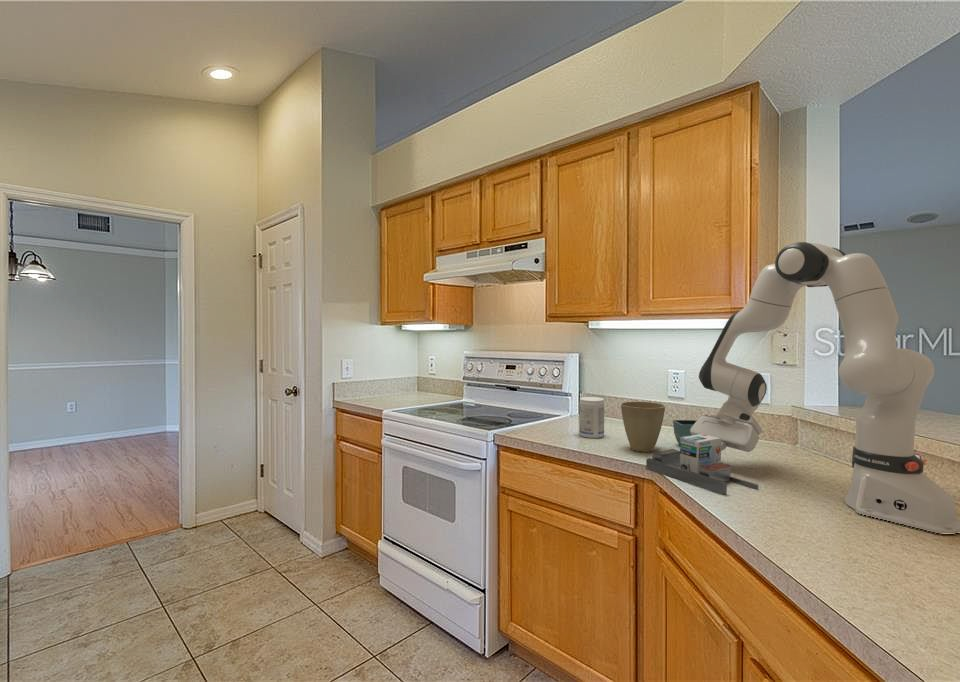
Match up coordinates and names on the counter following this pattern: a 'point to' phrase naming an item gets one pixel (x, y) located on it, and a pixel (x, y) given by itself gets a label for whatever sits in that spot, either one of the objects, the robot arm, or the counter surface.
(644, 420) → the plant pot
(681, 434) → the flower pot
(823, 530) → the counter surface
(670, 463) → the vise base
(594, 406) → the supplement tub
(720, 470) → the block
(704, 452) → the light bulb box
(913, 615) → the counter surface
